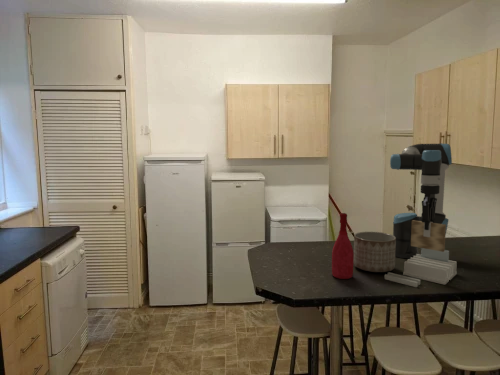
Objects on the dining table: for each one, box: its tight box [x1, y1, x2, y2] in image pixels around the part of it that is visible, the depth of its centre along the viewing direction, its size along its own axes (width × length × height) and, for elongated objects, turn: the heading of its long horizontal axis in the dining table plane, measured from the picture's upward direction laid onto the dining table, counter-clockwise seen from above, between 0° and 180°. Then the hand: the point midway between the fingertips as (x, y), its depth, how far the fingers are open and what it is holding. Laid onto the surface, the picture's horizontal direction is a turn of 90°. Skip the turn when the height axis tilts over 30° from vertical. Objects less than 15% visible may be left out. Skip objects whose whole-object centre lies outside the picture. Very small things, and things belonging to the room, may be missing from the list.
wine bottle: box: [331, 212, 354, 280], centre depth 164 cm, size 10×10×30 cm
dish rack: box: [402, 248, 458, 285], centre depth 166 cm, size 18×18×11 cm
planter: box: [353, 231, 396, 273], centre depth 175 cm, size 19×19×16 cm
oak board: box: [411, 220, 447, 252], centre depth 160 cm, size 14×2×12 cm, turn 46°
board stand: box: [384, 271, 421, 288], centre depth 158 cm, size 14×5×2 cm, turn 46°
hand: (427, 236), depth 160 cm, fingers closed on oak board, 2 cm apart
